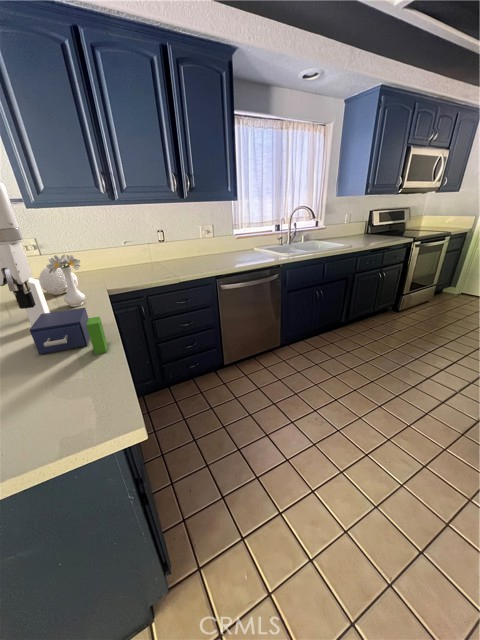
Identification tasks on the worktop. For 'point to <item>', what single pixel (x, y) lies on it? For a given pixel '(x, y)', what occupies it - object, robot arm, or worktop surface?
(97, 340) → the green rectangular box
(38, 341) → the drawer
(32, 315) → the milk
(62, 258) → the flower vase
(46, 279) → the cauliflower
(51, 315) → the cabinet
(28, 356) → the worktop surface
